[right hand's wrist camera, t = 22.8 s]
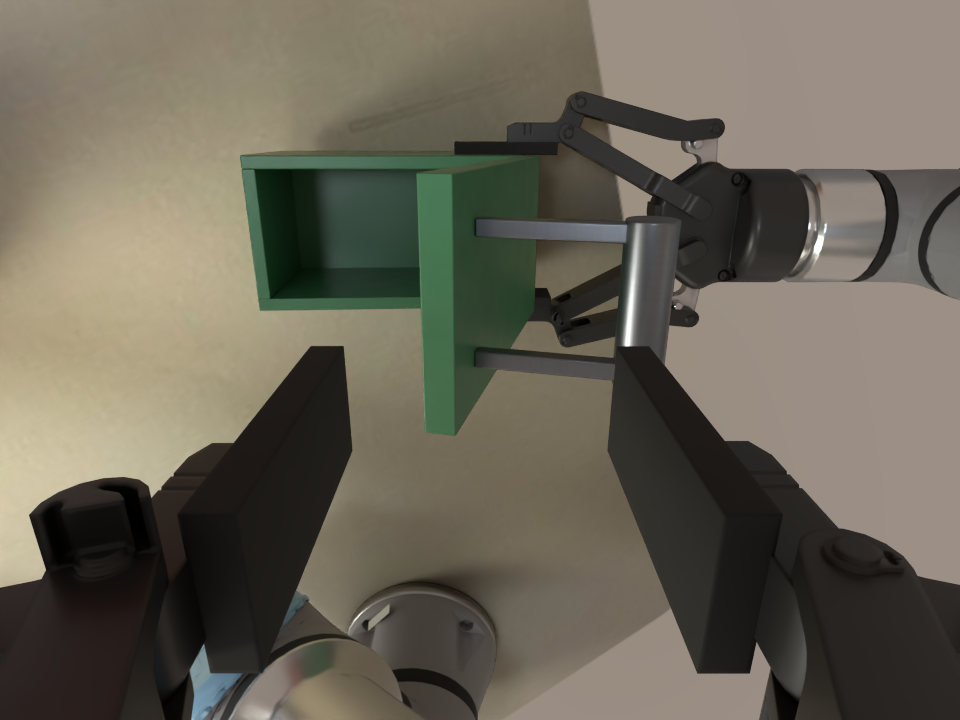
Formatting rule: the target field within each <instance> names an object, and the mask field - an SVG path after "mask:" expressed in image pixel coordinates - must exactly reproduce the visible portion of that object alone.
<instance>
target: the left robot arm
mask: <svg viewBox="0 0 960 720" xmlns="http://www.w3.org/2000/svg"><path fill="white" fill-rule="evenodd" d="M584 117H587V118H591V119H594V120H598V121H601V122H605V123H609V124H612V125H616V126H619V127H623V128H627V129H630V130H634V131H637V132H641V133H645V134H648V135H652V136H655V137H659V138H663V139H667V140H674V141H681V147H682V149H683V151H685V152H686V153H691V154H693V155H694V156H695V157H696V159H697V163H696V164H695V165H693V166H692V167H690V168H689V169H688V170H686V171H685V172H683V173H682V174H680V175H679V176H677V177H676V178H675V179H673V180H672V181H671V180H669V179H668V178H666V177H664V176H662V175H661V174H658V173H656V172H654V171H653V170H651V169H649V168H648V167H646V166H644V165H642V164H641V163H639V162H637V161H636V160H634V159H632V158H631V157H629V156H627V155H625V154H624V153H622V152H620V151H619V150H617V149H615V148H614V147H612V146H610V145H608V144H607V143H605V142H603V141H602V140H600V139H598V138H596V137H595V136H593V135H591V134H590V133H588V132H586V131H585V130H583V129H581V128H580V126H581V123H582V121H583V118H584ZM724 130H725V125H724V122H723V121H722V120H720V119H717V118H714V119H700V120H691V121H686V120H682V119H679V118H675V117H672V116H668V115H664V114H661V113H657V112H654V111H650V110H647V109H643V108H640V107H636V106H633V105H629V104H625V103H622V102H618V101H615V100H611V99H608V98H604V97H601V96H597V95H594V94H590V93H587V92H577V93H575V94H573V95H571V96H570V97H568V99H567V101H566V106H565V108H564V111H563V114H562V116H561V118H560V119H559V120H558V121H556V122H554V123H514V124H511V125H509V126H507V142H455V154H521V155H557V148H558V143H562V144H564V145H566V146H568V147H569V148H571V149H573V150H574V151H576V152H578V153H580V154H581V155H583V156H585V157H587V158H588V159H590V160H592V161H593V162H595V163H597V164H599V165H600V166H602V167H604V168H606V169H607V170H609V171H611V172H612V173H614V174H616V175H618V176H619V177H621V178H623V179H625V180H626V181H628V182H630V183H631V184H633V185H635V186H637V187H638V188H640V189H641V190H643V191H645V192H646V193H648V194H650V195H652V196H653V197H652V198H651V201H650V202H648V205H647V216H663V217H672V218H677V219H679V220H681V230H680V238H679V247H678V255H677V263H676V272H675V278H676V279H677V280H678V281H679V282H681V283H682V286H681V288H680V289H679V290H678V291H676V292H673V297H672V306H671V314H670V322H669V325H672V326H682V327H693V326H695V325H696V324H697V323H698V321H699V316H698V314H697V313H696V312H695V307H696V303H697V298H698V294H699V290H700V289H701V288H704V287H706V286H708V285H710V284H712V283H716V282H777V281H780V280H781V279H783V280H785V281H787V282H860V281H864V282H901V283H910V284H916V285H920V286H923V287H926V288H929V289H931V290H934V291H937V292H940V293H942V294H944V295H946V296H949V297H952V298H955V299H958V300H960V168H959V169H921V170H876V171H875V170H864V169H801V170H798V171H796V172H793V171H791V170H789V169H729V168H726V167H724V166H723V165H721V164H720V163H718V162H717V144H718V138H719V137H720V136H721V135H722V134H723V132H724ZM621 266H622V264H621V265H619V266H617V267H615V268H613V269H611V270H609V271H607V272H605V273H603V274H601V275H599V276H597V277H595V278H593V279H591V280H589V281H587V282H585V283H583V284H581V285H579V286H577V287H575V288H573V289H571V290H569V291H567V292H565V293H563V294H561V295H559V296H557V297H555V298H553V299H551V296H550V294H549V292H548V289H547V288H535V301H534V311H533V313H532V314H531V316H530V317H529V319H528V321H547V322H550V323H551V324H552V325H553V326H554V328H555V332H556V334H557V337H558V340H559V342H560V344H561V345H562V346H563V347H572V346H576V345H581V344H585V343H589V342H594V341H598V340H602V339H606V338H611V337H615V335H616V324H617V312H618V308H617V309H613V310H609V311H605V312H600V313H596V314H592V315H588V316H583V317H579V318H575V319H571V318H573V317H575V316H577V315H579V314H581V313H583V312H585V311H587V310H589V309H592V308H594V307H596V306H598V305H600V304H602V303H604V302H606V301H608V300H610V299H612V298H614V297H616V296H618V295H619V289H620V278H621ZM570 319H571V320H570ZM308 601H309V598H308V597H307V596H306V595H301V594H300V593H299V592H298V591H296V592H295V594H294V597H293V599H292V602H291V604H290V606H289V609H288V611H287V614H286V616H285V619H284V621H283V624H282V626H281V629H280V631H279V634H278V636H277V639H276V641H275V644H274V646H273V649H272V651H271V654H270V656H269V659H268V661H267V664H266V666H265V669H264V671H263V673H210V670H209V665H208V660H207V656H206V651H205V646H204V645H203V646H202V648H201V650H200V652H199V654H198V656H197V658H196V659H195V661H194V663H193V665H192V667H191V669H190V673H191V678H192V682H193V689H194V703H193V711H192V718H191V720H478V711H479V709H480V706H481V703H482V701H483V698H484V695H485V692H486V690H487V687H488V684H489V682H490V679H491V676H492V674H493V670H494V665H495V661H496V636H495V631H494V628H493V625H492V623H491V621H490V619H489V617H488V615H487V614H486V613H485V611H484V610H483V609H482V608H481V607H480V606H479V605H478V604H477V603H476V602H475V601H473V600H472V599H471V598H469V597H468V596H466V595H464V594H463V593H461V592H459V591H457V590H454V589H452V588H449V587H445V586H442V585H437V584H431V583H407V584H401V585H396V586H393V587H390V588H387V589H384V590H382V591H380V592H378V593H376V594H375V595H373V596H371V597H370V598H369V599H367V600H366V601H365V602H364V603H363V604H362V605H361V606H360V607H359V608H358V609H357V611H356V612H355V614H354V616H353V618H352V619H351V622H350V625H349V628H348V632H347V634H346V633H344V632H342V631H341V630H340V629H338V628H337V627H336V626H334V625H333V624H332V623H331V622H330V621H328V620H327V619H326V618H325V617H324V616H323V615H322V614H321V613H320V612H319V611H317V610H316V609H315V608H314V607H313V606H312V605H311V604H310V603H309V602H308Z"/></svg>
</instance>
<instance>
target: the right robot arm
mask: <svg viewBox="0 0 960 720" xmlns="http://www.w3.org/2000/svg"><path fill="white" fill-rule="evenodd" d="M351 453H352V440H351V428H350V416H349V404H348V393H347V381H346V369H345V357H344V346H311V347H310V348H309V349H308V350H307V352H306V353H305V354H304V355H303V357H302V358H301V359H300V360H299V362H298V363H297V364H296V365H295V367H294V368H293V369H292V370H291V372H290V373H289V374H288V375H287V377H286V378H285V379H284V380H283V382H282V383H281V384H280V386H279V387H278V388H277V389H276V391H275V392H274V393H273V394H272V396H271V397H270V398H269V399H268V401H267V402H266V403H265V404H264V406H263V407H262V408H261V409H260V411H259V412H258V413H257V414H256V416H255V417H254V418H253V419H252V421H251V422H250V423H249V424H248V426H247V427H246V428H245V429H244V431H243V432H242V433H241V434H240V436H239V437H238V438H237V440H236V441H235V442H234V443H212V444H210V445H208V446H206V447H205V448H203V449H201V450H200V451H198V452H196V453H195V454H193V455H191V456H189V457H188V458H187V459H186V460H185V461H184V463H183V464H182V465H181V466H180V467H179V468H178V469H177V470H176V471H175V473H174V477H170V478H169V479H168V480H167V481H166V483H165V484H164V485H163V486H162V489H161V490H158V491H157V493H156V494H155V495H154V496H153V497H152V498H151V495H150V491H149V487H148V486H147V485H146V484H145V483H143V482H142V481H140V480H138V479H132V478H126V477H117V478H103V479H98V480H94V481H90V482H85V483H81V484H78V485H76V486H73V487H71V488H68V489H65V490H63V491H60V492H58V493H57V494H55V495H53V496H52V497H50V498H48V499H47V500H45V501H43V502H42V503H40V504H39V505H38V506H37V507H36V508H35V509H34V510H33V511H32V513H31V514H30V515H29V516H30V520H31V523H32V526H33V529H34V533H35V536H36V539H37V542H38V545H39V549H40V552H41V555H42V558H43V561H44V565H45V568H46V571H45V573H44V575H43V577H42V579H40V580H36V581H32V582H27V583H22V584H17V585H12V586H7V587H2V588H0V720H191V718H192V711H193V703H194V689H193V682H192V678H191V673H190V669H191V667H192V665H193V663H194V661H195V659H196V658H197V656H198V654H199V652H200V650H201V648H202V646H203V645H204V646H205V651H206V656H207V660H208V665H209V670H210V673H263V671H264V669H265V666H266V664H267V661H268V659H269V656H270V654H271V651H272V649H273V646H274V644H275V641H276V639H277V636H278V634H279V631H280V629H281V626H282V624H283V621H284V619H285V616H286V614H287V611H288V609H289V606H290V604H291V602H292V599H293V597H294V594H295V592H296V589H297V587H298V584H299V582H300V579H301V577H302V574H303V572H304V569H305V567H306V564H307V562H308V559H309V557H310V554H311V552H312V549H313V547H314V544H315V542H316V539H317V537H318V535H319V532H320V530H321V527H322V525H323V522H324V520H325V517H326V515H327V512H328V510H329V507H330V505H331V502H332V500H333V497H334V495H335V492H336V490H337V487H338V485H339V482H340V480H341V477H342V475H343V472H344V470H345V468H346V465H347V463H348V460H349V458H350V455H351ZM608 453H609V455H610V458H611V460H612V463H613V465H614V468H615V470H616V472H617V475H618V477H619V480H620V482H621V485H622V487H623V490H624V492H625V495H626V497H627V500H628V502H629V505H630V507H631V510H632V512H633V515H634V517H635V520H636V522H637V525H638V527H639V530H640V532H641V535H642V537H643V539H644V542H645V544H646V547H647V549H648V552H649V554H650V557H651V559H652V562H653V564H654V567H655V569H656V572H657V574H658V577H659V579H660V582H661V584H662V587H663V589H664V592H665V594H666V597H667V599H668V602H669V604H670V606H671V609H672V611H673V614H674V616H675V619H676V621H677V624H678V626H679V629H680V631H681V634H682V636H683V639H684V641H685V644H686V646H687V649H688V651H689V654H690V656H691V659H692V661H693V664H694V666H695V669H696V671H697V673H750V670H751V665H752V660H753V656H754V651H755V646H756V641H757V643H758V645H759V647H760V649H761V651H762V653H763V654H764V656H765V658H766V660H767V662H768V663H769V665H770V667H771V669H770V673H769V678H768V682H767V687H766V691H765V696H764V700H763V705H762V709H761V714H760V718H759V720H960V585H957V584H952V583H947V582H942V581H937V580H932V579H927V578H923V577H919V576H917V574H916V572H915V570H914V569H913V567H912V566H911V565H910V564H909V563H908V561H907V560H906V559H905V558H904V556H902V555H901V554H900V553H898V552H897V551H895V550H894V549H892V548H891V547H890V546H888V545H887V544H885V543H883V542H881V541H878V540H876V539H874V538H872V537H870V536H867V535H865V534H861V533H857V532H854V531H850V530H846V529H839V528H838V527H837V526H836V525H835V524H834V523H833V522H832V521H831V520H830V518H829V517H828V516H827V515H826V514H825V513H824V512H823V511H822V510H821V509H820V507H819V506H818V505H817V504H816V503H815V502H814V501H813V500H812V499H811V498H810V496H809V495H808V494H807V493H806V492H805V491H804V490H803V489H802V488H799V484H798V483H797V482H796V481H795V480H794V479H793V478H792V477H791V475H788V474H787V471H786V470H785V469H784V468H783V467H782V466H781V464H780V463H779V462H778V461H777V460H776V459H775V458H774V457H773V456H772V455H771V454H769V453H768V452H766V451H764V450H762V449H761V448H759V447H757V446H756V445H754V444H752V443H750V442H749V441H724V440H723V438H722V437H721V436H720V434H719V433H718V432H717V431H716V429H715V428H714V427H713V426H712V424H711V423H710V422H709V421H708V419H707V418H706V417H705V416H704V414H703V413H702V412H701V411H700V409H699V408H698V407H697V406H696V404H695V403H694V402H693V401H692V399H691V398H690V397H689V396H688V394H687V393H686V392H685V391H684V389H683V388H682V387H681V386H680V384H679V383H678V382H677V381H676V379H675V378H674V377H673V375H672V374H671V373H670V372H669V370H668V369H667V368H666V367H665V365H664V364H663V363H662V362H661V360H660V359H659V358H658V357H657V355H656V354H655V353H654V352H653V350H652V349H651V348H650V347H649V346H616V357H615V369H614V381H613V393H612V405H611V416H610V428H609V440H608Z"/></svg>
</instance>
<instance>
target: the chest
mask: <svg viewBox="0 0 960 720" xmlns="http://www.w3.org/2000/svg"><path fill="white" fill-rule="evenodd" d="M517 156H526V155H521V154H455V151H277V152H267V153H258V154H248V155H241V156H240V160H241V167H242V176H243V184H244V192H245V200H246V207H247V215H248V223H249V231H250V238H251V246H252V254H253V262H254V269H255V277H256V285H257V293H258V301H259V309H260V311H270V310H338V309H406V308H421V295H420V263H419V232H418V200H417V173H419V172H425V171H431V170H437V169H444V168H450V167H456V166H462V165H468V164H474V163H480V162H486V161H492V160H499V159H505V158H511V157H517Z"/></svg>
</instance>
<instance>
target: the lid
mask: <svg viewBox="0 0 960 720" xmlns="http://www.w3.org/2000/svg"><path fill="white" fill-rule="evenodd" d="M539 163H540V157H539V156H517V157H511V158H505V159H499V160H492V161H486V162H480V163H474V164H468V165H462V166H456V167H450V168H444V169H437V170H431V171H425V172H419V173H417V200H418V232H419V263H420V295H421V326H422V358H423V389H424V420H425V432H428V433H436V434H444V435H452V436H456V434H457V432H458V431H459V429H460V428H461V426H462V424H463V423H464V421H465V420H466V418H467V416H468V415H469V413H470V412H471V410H472V408H473V407H474V405H475V404H476V402H477V400H478V399H479V397H480V396H481V394H482V392H483V391H484V389H485V388H486V386H487V385H488V383H489V381H490V380H491V378H492V377H493V375H494V373H495V372H496V370H497V369H498V370H508V371H519V372H529V373H540V374H550V375H561V376H571V377H582V378H592V379H603V380H612V383H613V381H614V369H615V357H616V346H649V347H650V348H651V349H652V350H653V352H654V353H655V354H656V355H657V357H658V358H659V359H660V360H661V362H662V363H663V364H664V365H665V356H666V348H667V339H668V331H669V322H670V314H671V306H672V297H673V289H674V280H675V272H676V263H677V255H678V247H679V238H680V230H681V220H679V219H677V218H672V217H663V216H633V217H628V218H626V220H625V221H600V220H572V219H544V218H538V191H539ZM537 240H554V241H577V242H600V243H622V244H623V254H622V266H621V278H620V289H619V301H618V312H617V324H616V335H615V347H614V358H606V357H595V356H583V355H572V354H560V353H549V352H537V351H526V350H514V349H510V348H511V346H512V345H513V343H514V341H515V340H516V338H517V337H518V335H519V333H520V332H521V330H522V329H523V327H524V325H525V324H526V322H527V321H528V319H529V317H530V316H531V314H532V313H533V311H534V301H535V273H536V246H537Z"/></svg>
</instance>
